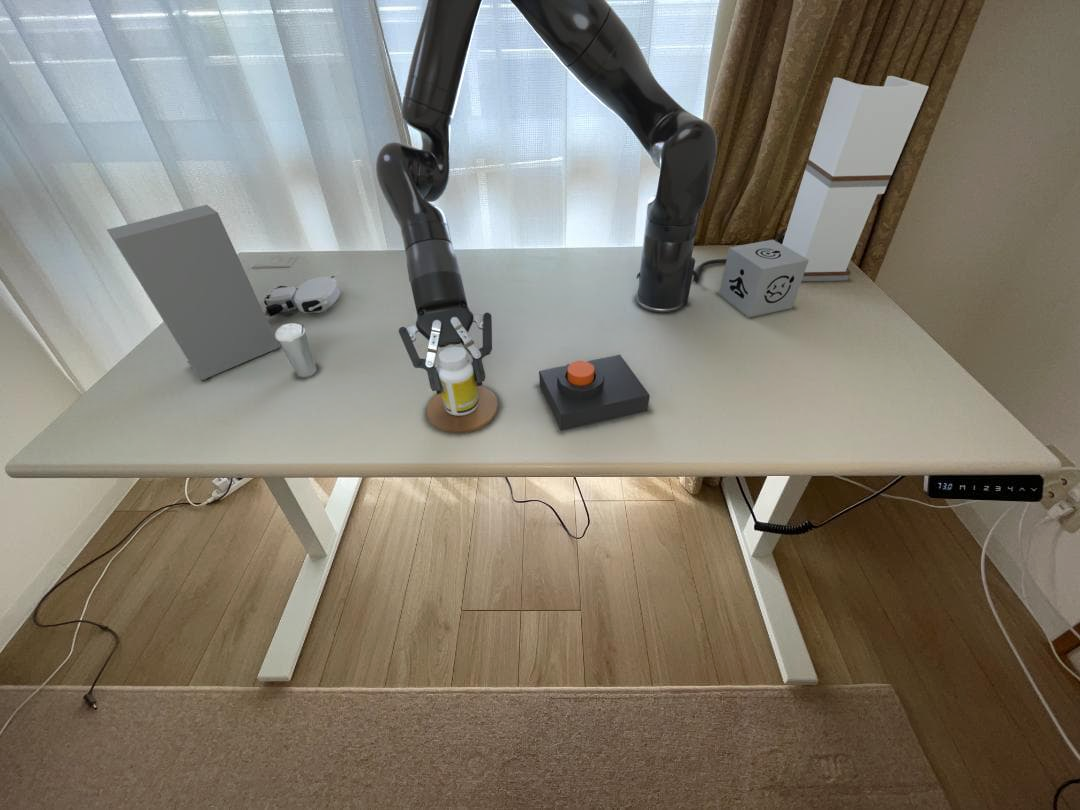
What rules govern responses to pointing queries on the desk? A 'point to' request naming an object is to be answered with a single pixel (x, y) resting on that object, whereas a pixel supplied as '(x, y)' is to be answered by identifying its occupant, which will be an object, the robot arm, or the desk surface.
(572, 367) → the orange button
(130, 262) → the tall grey upright panel
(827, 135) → the white striped pillar
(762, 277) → the icon cube
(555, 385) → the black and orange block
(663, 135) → the robot arm
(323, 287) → the robot toy
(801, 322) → the desk surface
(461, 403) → the supplement bottle
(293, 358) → the milkshake
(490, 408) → the coaster
